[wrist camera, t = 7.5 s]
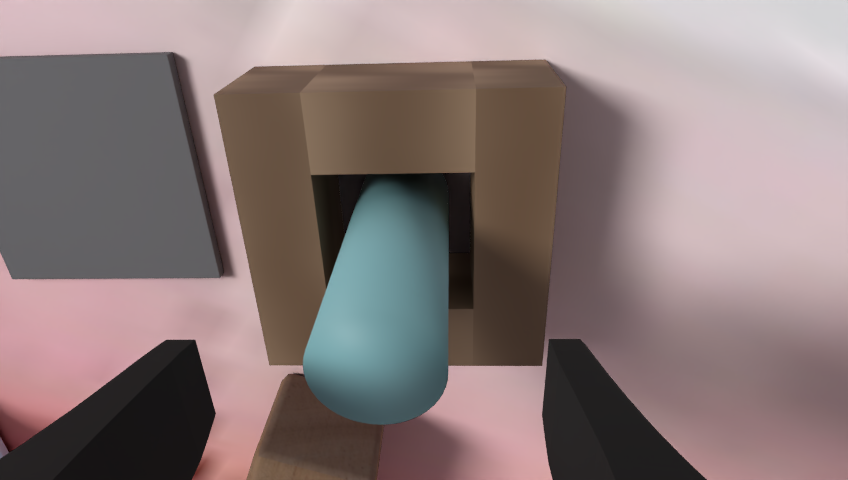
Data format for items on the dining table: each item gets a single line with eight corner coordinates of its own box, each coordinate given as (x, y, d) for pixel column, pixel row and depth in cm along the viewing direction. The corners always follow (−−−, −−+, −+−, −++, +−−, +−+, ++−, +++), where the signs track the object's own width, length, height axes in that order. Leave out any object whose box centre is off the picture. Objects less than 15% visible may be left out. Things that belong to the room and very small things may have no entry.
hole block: (294, 304, 22) (269, 365, 19) (254, 66, 18) (213, 94, 15) (529, 304, 22) (542, 365, 18) (545, 59, 17) (566, 86, 14)
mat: (19, 273, 22) (12, 279, 21) (-74, 58, 18) (-84, 61, 18) (223, 272, 21) (219, 278, 21) (172, 52, 18) (166, 54, 17)
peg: (365, 234, 20) (312, 424, 12) (358, 154, 19) (293, 312, 11) (449, 233, 20) (448, 424, 12) (448, 153, 19) (446, 312, 11)
